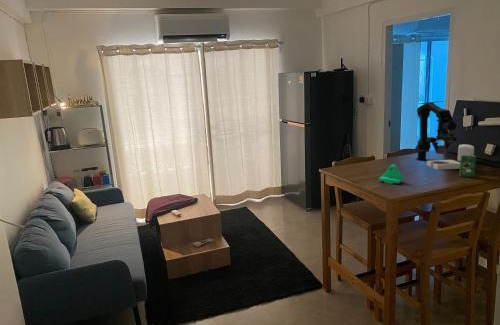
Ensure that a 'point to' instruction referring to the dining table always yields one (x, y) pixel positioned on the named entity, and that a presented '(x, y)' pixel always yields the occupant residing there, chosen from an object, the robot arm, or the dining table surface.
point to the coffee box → (467, 166)
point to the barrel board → (444, 164)
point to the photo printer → (465, 150)
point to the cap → (441, 149)
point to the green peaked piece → (392, 175)
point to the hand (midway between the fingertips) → (440, 151)
